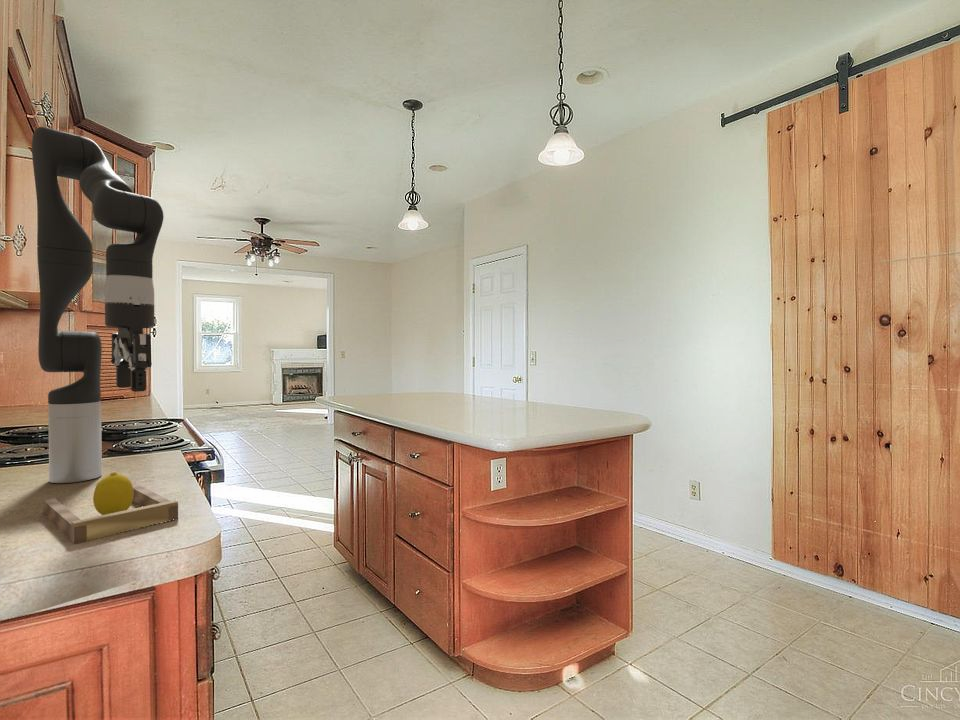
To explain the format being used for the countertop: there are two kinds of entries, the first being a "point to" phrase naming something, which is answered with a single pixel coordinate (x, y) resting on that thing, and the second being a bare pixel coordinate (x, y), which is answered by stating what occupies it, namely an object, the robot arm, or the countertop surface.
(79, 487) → the countertop surface
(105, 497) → the lemon
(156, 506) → the brown wooden u-shaped frame
